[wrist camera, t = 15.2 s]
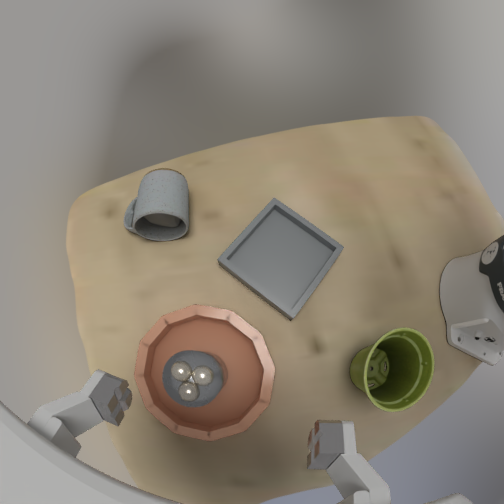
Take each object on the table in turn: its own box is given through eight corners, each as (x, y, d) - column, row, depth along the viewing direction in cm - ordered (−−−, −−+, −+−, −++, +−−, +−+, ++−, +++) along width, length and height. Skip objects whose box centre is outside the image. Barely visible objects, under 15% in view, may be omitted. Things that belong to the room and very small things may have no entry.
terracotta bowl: (296, 363, 32) (301, 364, 28) (216, 453, 27) (213, 463, 24) (199, 286, 35) (194, 279, 32) (124, 373, 30) (112, 374, 27)
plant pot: (398, 395, 30) (434, 400, 22) (337, 407, 29) (364, 420, 21) (396, 331, 33) (431, 322, 25) (336, 339, 33) (362, 332, 25)
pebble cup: (237, 371, 30) (233, 377, 21) (209, 403, 29) (193, 421, 19) (202, 343, 32) (184, 337, 22) (175, 374, 30) (147, 380, 21)
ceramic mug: (192, 190, 41) (182, 158, 34) (193, 238, 38) (181, 210, 31) (130, 200, 40) (111, 172, 33) (125, 247, 37) (102, 223, 30)
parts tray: (339, 252, 37) (344, 247, 36) (290, 320, 34) (293, 318, 32) (272, 204, 40) (274, 197, 38) (218, 264, 36) (217, 259, 35)
